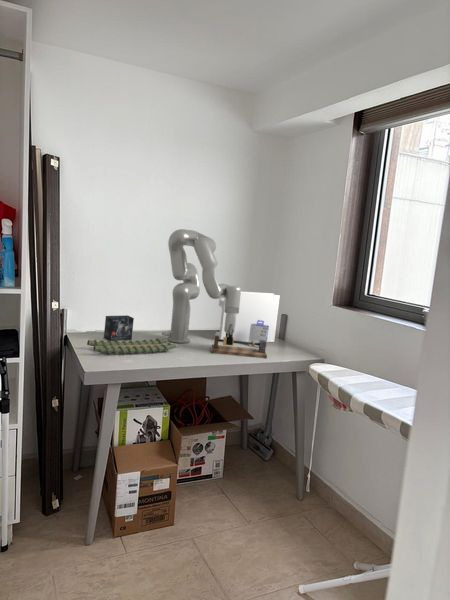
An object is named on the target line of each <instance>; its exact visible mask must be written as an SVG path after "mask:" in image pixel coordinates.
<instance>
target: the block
mask: <svg viewBox="0 0 450 600" xmlns="http://www.w3.org/2000/svg"><path fill="white" fill-rule="evenodd" d="M280 298H281V295H280V294H275V293H272V292H271V293H270V292H257V291H241V296H240V307H239V314H236V324H235V331H234V333H233V341H243V342H249V336H250V327H251V324H257V321H258V320H261V321H264V325H268V326H269V330H268V338H267V343H269V342H271V343H274V342H275V340H276V331H277V322H278V315H279V314H278V313H279V308H280V307H279V306H280ZM225 299H226V298H219V299H218V306H219V307H220V308H221V314H220V315H221V316H220V325H219V326H220V327H219V332H218V331H216V332H215V335H214V337H215V336H219V339H223V337H226V332H225V330H224V327H225V318H226V313H225V312H224V310H225ZM258 323H263V322H258Z"/></svg>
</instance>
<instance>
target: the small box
mask: <svg viewBox="0 0 450 600" xmlns="http://www.w3.org/2000/svg"><path fill="white" fill-rule="evenodd" d="M134 319H135V318H134V317H132V316H130V315H127V314H126V315H125V314H124V315H105V321H104V332H103V339H104V340H106V341H111V342H115V341H116V340H117V341H118V342H122V341H130V340H132V339H133V329H134ZM132 341H133V340H132Z"/></svg>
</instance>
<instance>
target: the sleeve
mask: <svg viewBox="0 0 450 600" xmlns="http://www.w3.org/2000/svg"><path fill="white" fill-rule="evenodd" d="M226 340H227V337H223V342H222V346H227V345H226ZM233 344H234V343H233ZM233 344H232V345H228V346H232V347H234V345H233Z"/></svg>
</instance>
